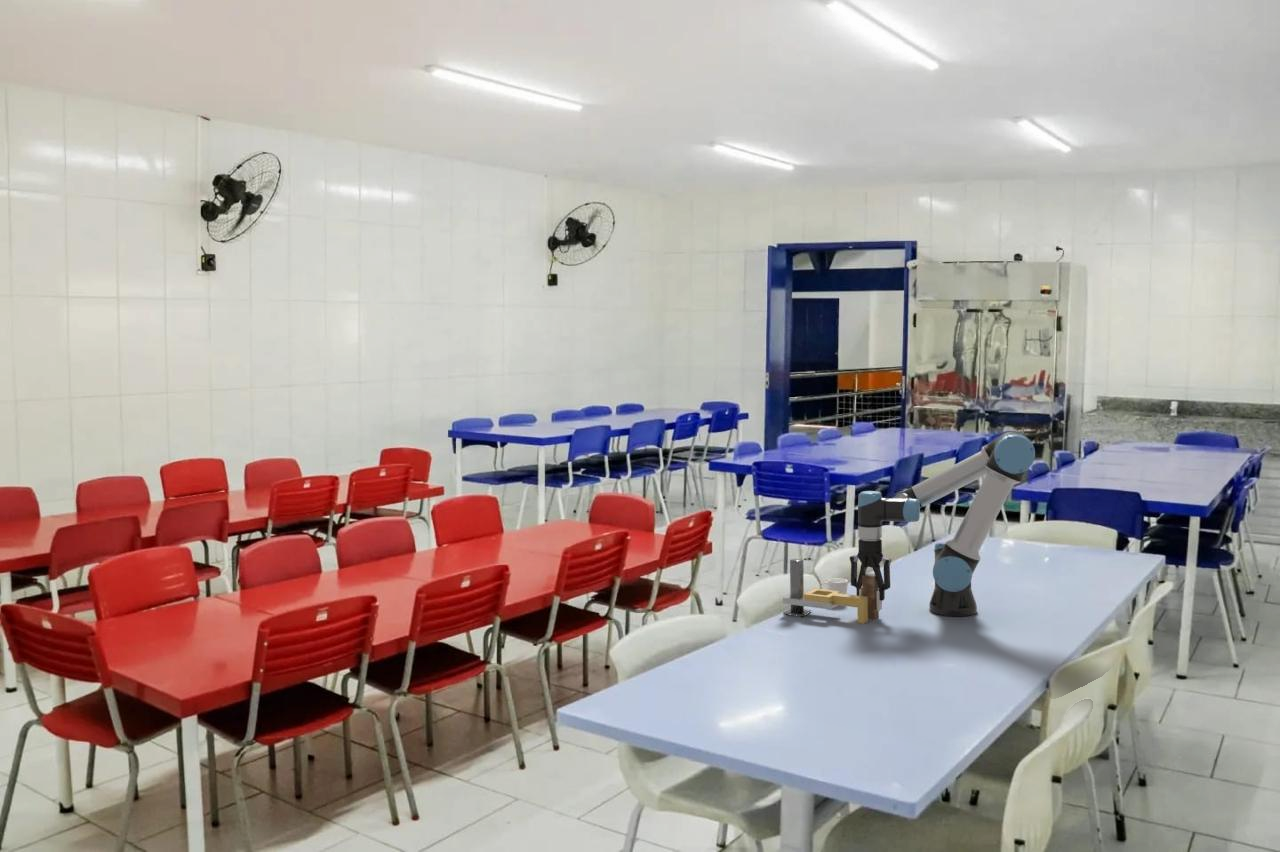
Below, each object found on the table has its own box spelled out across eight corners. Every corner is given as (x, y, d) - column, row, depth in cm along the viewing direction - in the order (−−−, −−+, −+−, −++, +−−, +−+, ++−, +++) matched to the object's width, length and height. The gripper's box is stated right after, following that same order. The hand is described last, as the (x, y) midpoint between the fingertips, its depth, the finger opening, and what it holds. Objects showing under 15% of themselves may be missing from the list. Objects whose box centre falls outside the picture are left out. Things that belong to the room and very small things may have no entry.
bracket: (870, 619, 343) (870, 594, 343) (860, 625, 336) (860, 600, 335) (815, 612, 354) (815, 588, 353) (804, 618, 346) (803, 594, 346)
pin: (878, 616, 346) (878, 574, 345) (874, 619, 343) (873, 576, 342) (867, 615, 349) (866, 573, 348) (862, 617, 345) (862, 575, 344)
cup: (847, 606, 361) (846, 583, 360) (817, 604, 364) (817, 581, 363) (849, 601, 367) (849, 578, 367) (820, 599, 371) (820, 577, 370)
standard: (841, 615, 349) (841, 561, 347) (831, 621, 341) (830, 566, 340) (793, 609, 358) (792, 556, 357) (781, 615, 351) (781, 561, 349)
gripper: (901, 539, 342) (901, 609, 344) (848, 534, 352) (848, 603, 354) (893, 543, 336) (893, 614, 337) (839, 538, 346) (839, 608, 348)
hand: (870, 608), depth 346 cm, fingers open, 5 cm apart
